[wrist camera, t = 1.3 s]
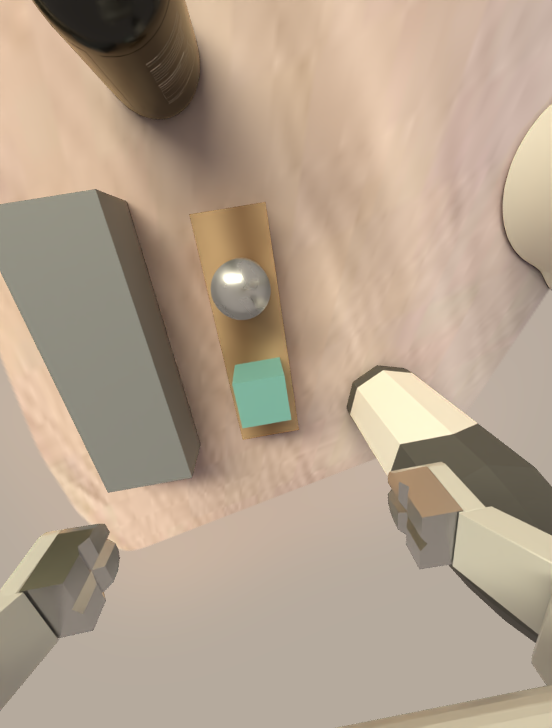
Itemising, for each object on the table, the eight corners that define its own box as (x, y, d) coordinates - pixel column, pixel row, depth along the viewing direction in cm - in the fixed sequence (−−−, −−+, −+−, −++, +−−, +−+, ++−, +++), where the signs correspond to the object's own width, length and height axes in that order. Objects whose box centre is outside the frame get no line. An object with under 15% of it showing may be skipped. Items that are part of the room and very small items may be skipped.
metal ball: (262, 253, 23) (264, 253, 19) (271, 304, 24) (275, 314, 20) (211, 262, 22) (203, 264, 19) (223, 313, 24) (218, 324, 20)
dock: (126, 201, 23) (95, 189, 19) (200, 444, 32) (191, 477, 28) (26, 217, 23) (-30, 209, 19) (128, 457, 32) (107, 492, 27)
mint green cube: (279, 357, 26) (284, 375, 22) (285, 396, 27) (291, 419, 24) (234, 364, 26) (232, 384, 22) (243, 404, 27) (242, 428, 23)
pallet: (263, 208, 25) (265, 202, 21) (293, 410, 32) (298, 429, 29) (197, 219, 25) (189, 214, 21) (243, 419, 32) (242, 439, 29)
